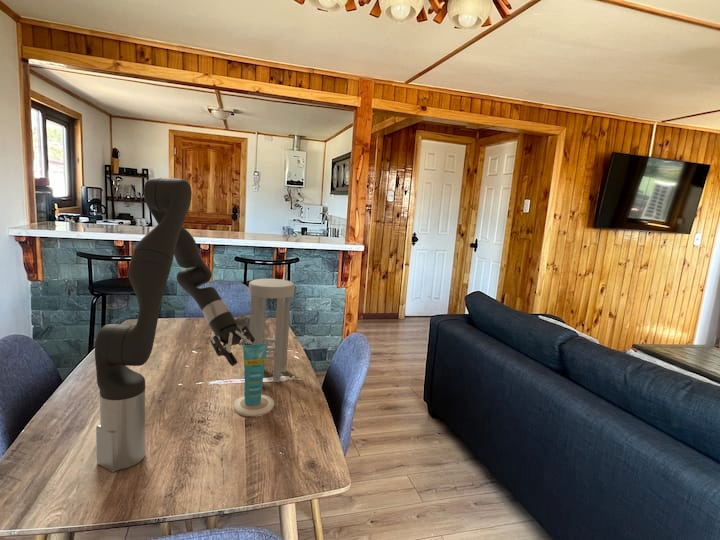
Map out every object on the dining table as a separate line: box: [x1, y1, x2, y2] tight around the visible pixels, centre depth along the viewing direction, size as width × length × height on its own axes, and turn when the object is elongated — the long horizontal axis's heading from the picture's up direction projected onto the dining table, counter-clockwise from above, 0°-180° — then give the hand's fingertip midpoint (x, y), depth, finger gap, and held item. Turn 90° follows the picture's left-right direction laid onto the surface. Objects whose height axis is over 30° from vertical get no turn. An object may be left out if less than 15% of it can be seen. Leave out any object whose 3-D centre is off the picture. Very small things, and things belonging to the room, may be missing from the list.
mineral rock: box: [234, 313, 250, 331], centre depth 193 cm, size 13×11×10 cm
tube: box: [242, 342, 269, 406], centre depth 126 cm, size 7×5×19 cm, turn 122°
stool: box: [248, 278, 296, 384], centre depth 149 cm, size 16×16×35 cm
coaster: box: [233, 394, 275, 417], centre depth 128 cm, size 12×12×1 cm
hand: (245, 360), depth 128 cm, fingers open, 8 cm apart
